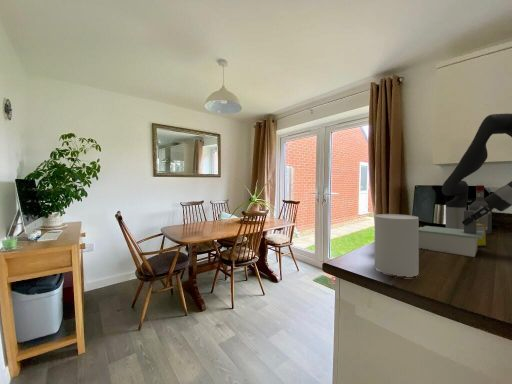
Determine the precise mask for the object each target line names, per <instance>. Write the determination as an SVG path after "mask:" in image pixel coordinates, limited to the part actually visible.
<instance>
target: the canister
mask: <svg viewBox="0 0 512 384" xmlns="http://www.w3.org/2000/svg"><path fill="white" fill-rule="evenodd" d="M419 219H420V218H419V216H415V215H410V214H409V215H408V214H399V213H397V214H396V213H381V214H378V213H377V214H375V215H374V268H375V267H376V268H377V269H379V270H381V271H384V272H386V273H389V274H393V275H397V276H406V277H413V276H417V275H418V274H419V275H420V273H419V269H420V268H419V264H420V263H419V258H420V257H419V251H420V250H419V249H420V248H419V228H420V227H419V224H420V223H419V222H420V221H419ZM419 275H418V276H419Z"/></svg>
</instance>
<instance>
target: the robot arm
mask: <svg viewBox="0 0 512 384" xmlns="http://www.w3.org/2000/svg"><path fill="white" fill-rule="evenodd" d="M502 134H503V135H504V134H505V135H508V136H509V137H511V138H512V113H493V114H489V115H487V116H486V117H484V119H482V122H481V124H480V125H479V127H478V129H477V132H476V133H475V135H474V137H473V140H472V141H471V143H470V144H469V146H468V147H467V149H466V151H465V152H464V154H463V155H462V157H461V158H460V160H459V162H458V164H457V165H456V167H455V168H454V169H453V171H452V173H451V174H450V175H449V176H448V177H447V178H446V180H445V181H444V182H443V184H442V186H441V193H442V194H443V195H444V196H452V197H454V198H453V199H451V200H448V201H446V202H445V228H453V229H463V224H464V225H465V226H467V225H468V224H470V223H471V222H473V221H476V220H478V219H479V218H482V217H484V216H486V215H487V214H490V213H491V212H492V213H493V210H494V209H495V210H497V211H499V212H503V211H505V210H507V209H508V208H510V207H512V180H511V181H509V182H508V183H507V184H504V185H503V186H501V187H499V188H498V189H496V190H494V191H493V192H492V193H490V194H489V195H488V196H486V197H484V201H485V202H487V203H488V205H486V206H484V205H482V206H481V207H480V208H479V209H477V210H476V211H475V212H474V214H473V215H470V217H468V218H467V219H465V220H464V211H465V210H466V211H467V205H468V201H469V200H468V197H469V185H468V183H467V181H466V180H464V179H465V178H467V177H468V176H470V175H472V174H473V173H475V172H477V171H479V169H481V168H482V166H483V165H484V163H485V162H486V161H487V159H488V150H487V149H488V148H487V143H488V141H489V140H490V138H491V136H493V135H502ZM491 210H492V211H491ZM474 215H477V217H475V216H474Z"/></svg>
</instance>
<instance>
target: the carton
mask: <svg viewBox="0 0 512 384" xmlns="http://www.w3.org/2000/svg"><path fill="white" fill-rule="evenodd" d="M423 227H424V226H423ZM423 227H422V226H420V227H419V229H421V228H423ZM421 248H422V249H421ZM419 249H421V250H427V249H428V251H433V252H441V253H447V254H452V255H458V256H466V257H471V258H475V257H476V254H477V252H478V247H477V238H468V237H460V236H451V235H442V234H433V233H425V232H419Z"/></svg>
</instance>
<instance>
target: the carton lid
mask: <svg viewBox="0 0 512 384" xmlns="http://www.w3.org/2000/svg"><path fill="white" fill-rule="evenodd" d="M474 212H475V211H469V210H467V209H466V210H465V211H464V220H465V219H467V218H468V217H470V215H473V214H474ZM474 216H475V217H477V215H474ZM419 232H425V233H433V234H442V235H451V236H460V237H468V238H477V239H482V236H483V233H484V231H477V220H476V221H473V222H471V223H470V224H468V225H467V226H465V225H464V230H463V229H453V228H446V227H441V226H430V225H424V226H423V228H421V229H419Z"/></svg>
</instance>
